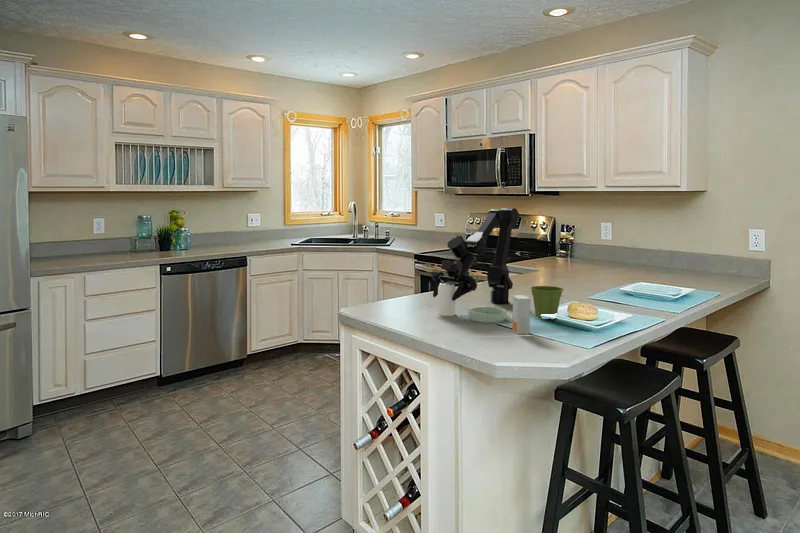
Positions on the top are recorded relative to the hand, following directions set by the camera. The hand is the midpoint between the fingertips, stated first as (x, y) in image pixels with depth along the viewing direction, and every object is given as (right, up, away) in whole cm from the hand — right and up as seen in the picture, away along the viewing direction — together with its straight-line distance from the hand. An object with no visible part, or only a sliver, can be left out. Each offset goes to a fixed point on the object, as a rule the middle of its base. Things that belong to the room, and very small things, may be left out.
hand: (443, 298), depth 204 cm
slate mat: (+15, -7, -5) cm, 18 cm away
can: (+2, -7, +2) cm, 7 cm away
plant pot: (+37, -7, -2) cm, 38 cm away
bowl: (+15, -7, -5) cm, 18 cm away
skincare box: (+24, -10, -23) cm, 34 cm away
